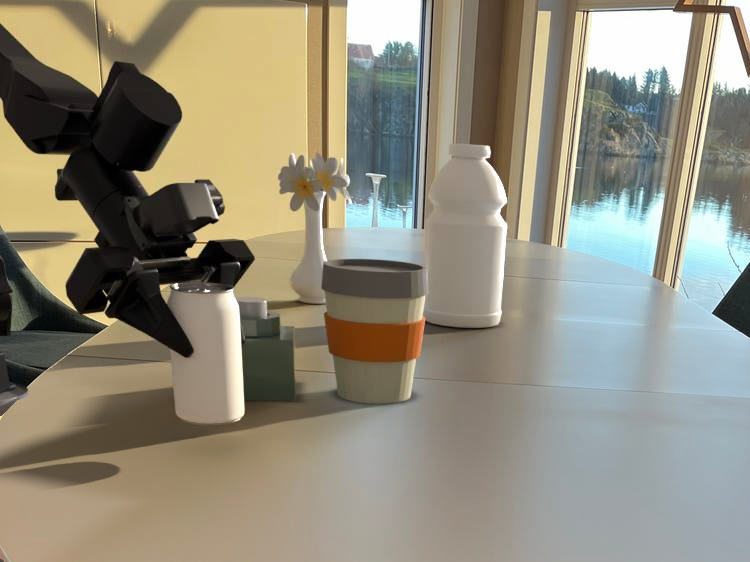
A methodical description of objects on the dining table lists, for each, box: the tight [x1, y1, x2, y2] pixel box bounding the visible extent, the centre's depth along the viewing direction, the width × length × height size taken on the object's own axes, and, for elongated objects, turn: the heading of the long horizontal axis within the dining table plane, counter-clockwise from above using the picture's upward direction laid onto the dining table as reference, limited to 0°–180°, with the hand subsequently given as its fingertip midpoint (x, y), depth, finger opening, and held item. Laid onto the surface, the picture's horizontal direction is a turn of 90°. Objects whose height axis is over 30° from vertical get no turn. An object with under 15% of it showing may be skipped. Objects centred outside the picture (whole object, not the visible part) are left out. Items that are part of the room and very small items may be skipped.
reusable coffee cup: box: [321, 258, 428, 405], centre depth 113 cm, size 13×13×15 cm
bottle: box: [422, 142, 508, 329], centre depth 161 cm, size 14×14×28 cm
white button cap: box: [235, 296, 268, 318], centre depth 110 cm, size 4×4×2 cm
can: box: [166, 282, 245, 426], centre depth 89 cm, size 6×6×12 cm
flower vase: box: [277, 152, 352, 305], centre depth 172 cm, size 13×18×25 cm
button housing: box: [240, 310, 297, 402], centre depth 112 cm, size 10×9×9 cm
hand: (216, 349), depth 88 cm, fingers closed on can, 6 cm apart
